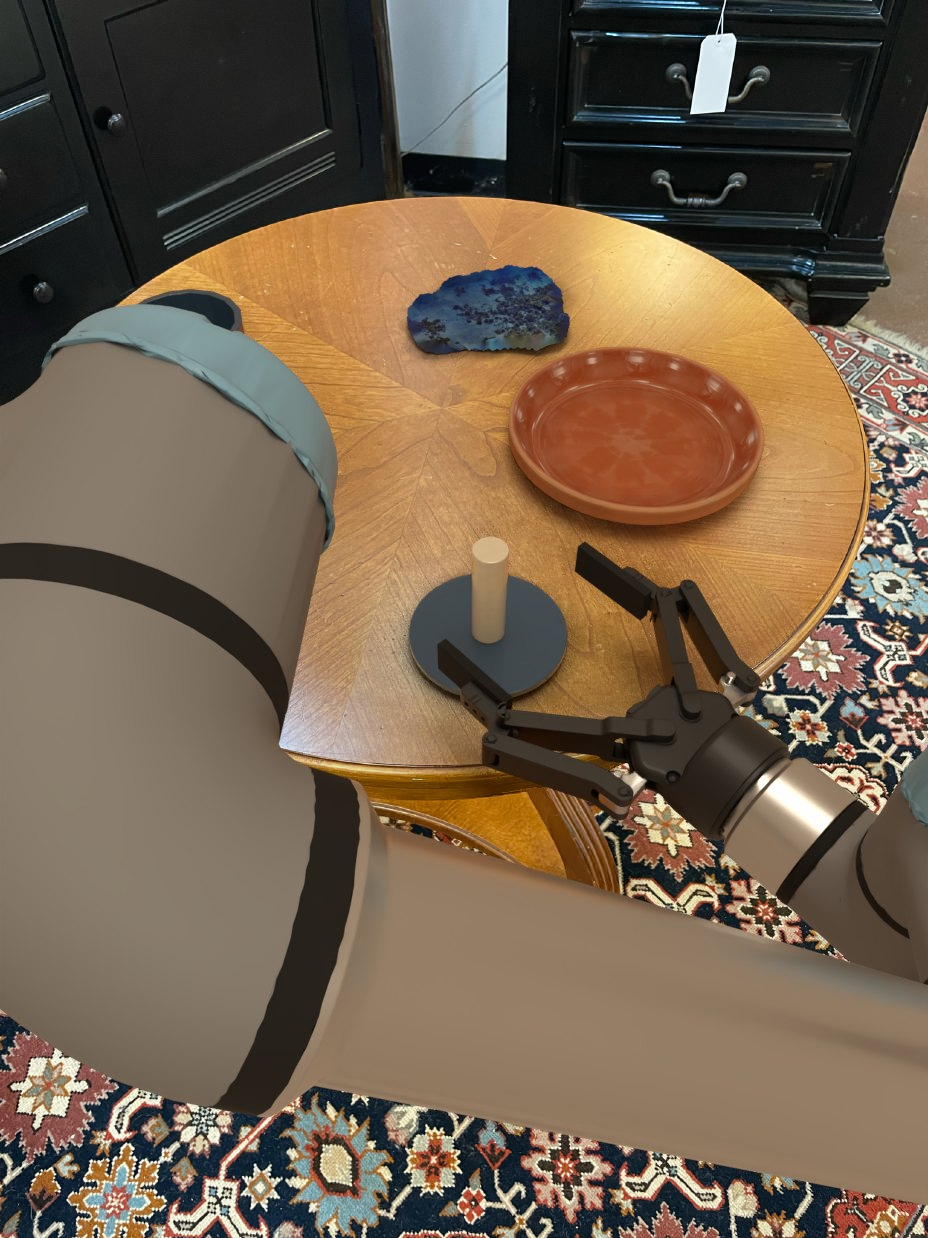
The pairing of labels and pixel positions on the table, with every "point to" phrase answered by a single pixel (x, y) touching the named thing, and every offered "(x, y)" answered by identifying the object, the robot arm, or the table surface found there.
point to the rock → (490, 312)
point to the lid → (491, 624)
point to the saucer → (635, 435)
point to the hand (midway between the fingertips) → (513, 602)
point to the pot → (203, 306)
